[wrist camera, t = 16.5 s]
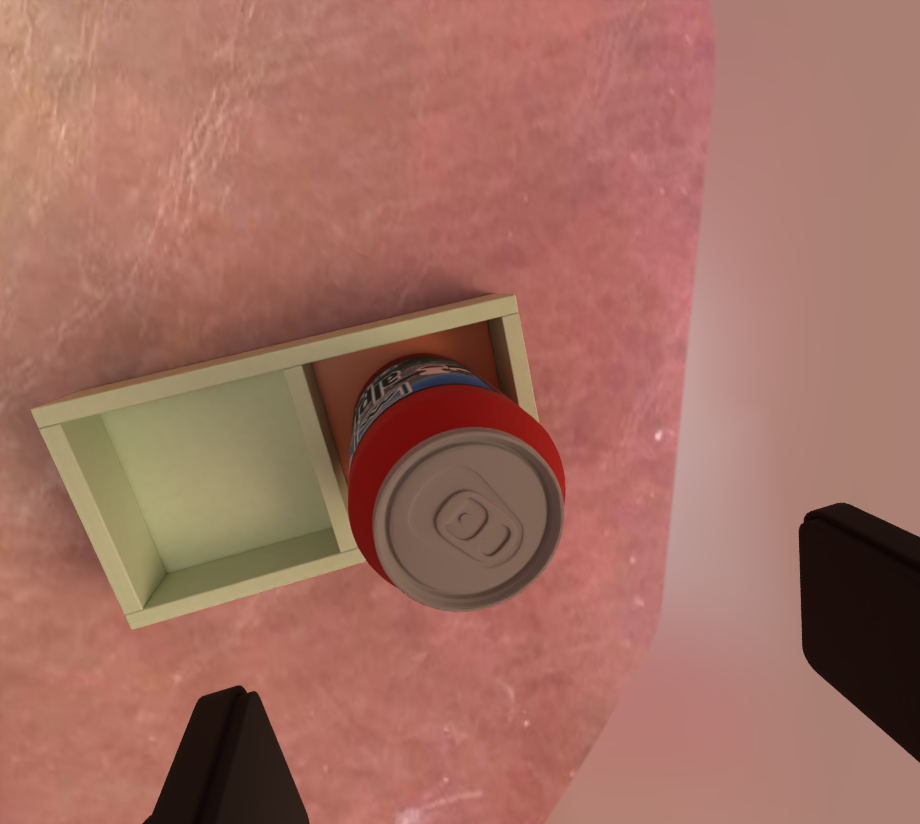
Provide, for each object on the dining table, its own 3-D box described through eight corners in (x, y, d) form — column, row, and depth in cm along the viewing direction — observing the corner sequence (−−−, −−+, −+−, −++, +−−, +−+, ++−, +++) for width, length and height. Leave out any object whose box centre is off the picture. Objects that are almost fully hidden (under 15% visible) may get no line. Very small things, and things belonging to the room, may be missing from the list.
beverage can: (413, 320, 24) (459, 351, 13) (515, 408, 26) (634, 501, 15) (322, 430, 25) (290, 552, 13) (430, 508, 27) (482, 673, 15)
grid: (531, 480, 28) (554, 506, 25) (160, 585, 26) (130, 631, 23) (494, 293, 26) (515, 294, 22) (77, 391, 23) (28, 409, 20)
